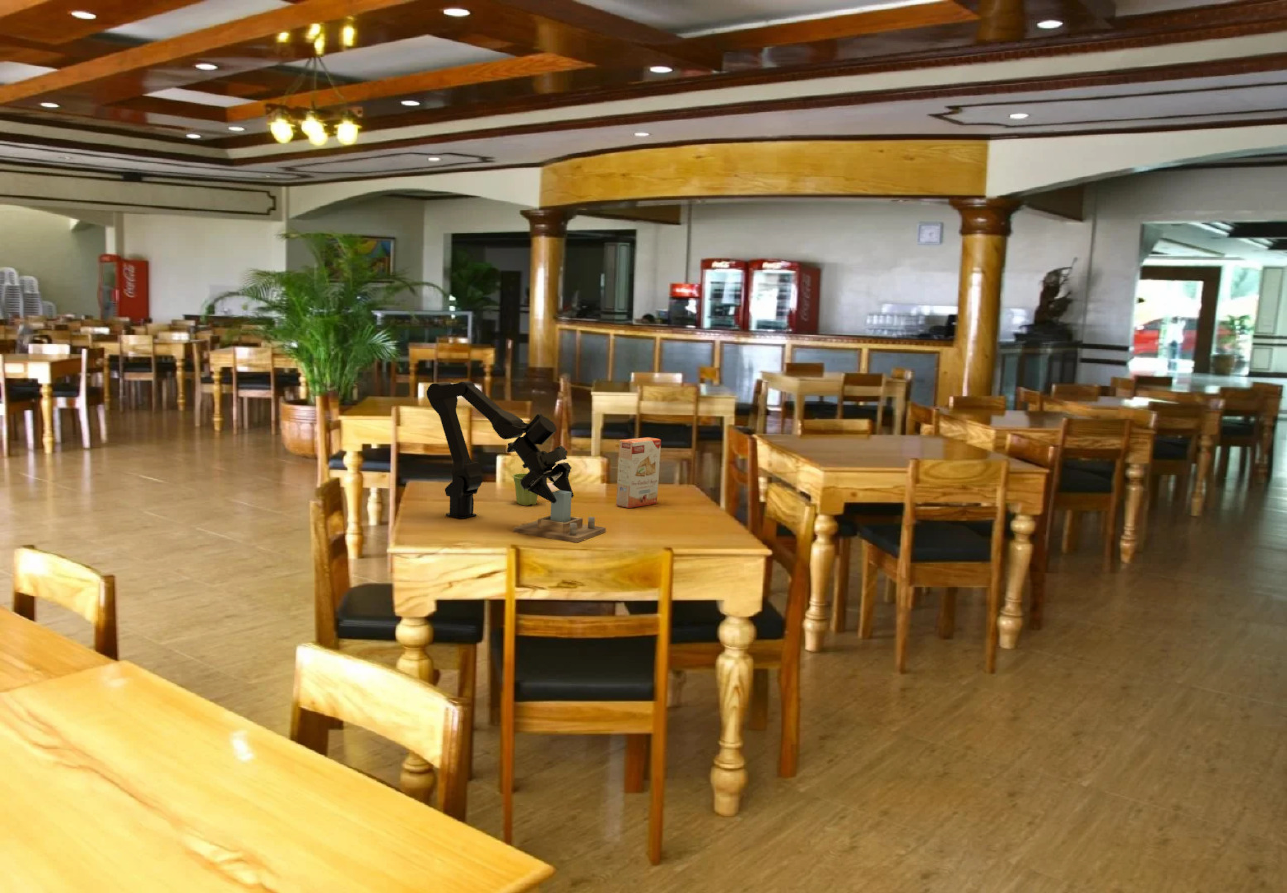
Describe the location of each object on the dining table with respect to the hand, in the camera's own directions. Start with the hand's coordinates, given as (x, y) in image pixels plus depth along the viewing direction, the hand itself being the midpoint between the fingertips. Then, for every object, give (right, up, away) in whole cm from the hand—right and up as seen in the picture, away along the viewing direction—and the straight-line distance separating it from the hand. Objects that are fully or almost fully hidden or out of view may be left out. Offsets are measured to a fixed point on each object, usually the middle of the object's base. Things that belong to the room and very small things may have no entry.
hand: (564, 499), depth 294 cm
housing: (-1, -9, +2) cm, 9 cm away
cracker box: (+20, -4, +45) cm, 49 cm away
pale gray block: (-1, -8, +2) cm, 8 cm away
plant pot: (-14, -3, +38) cm, 41 cm away
